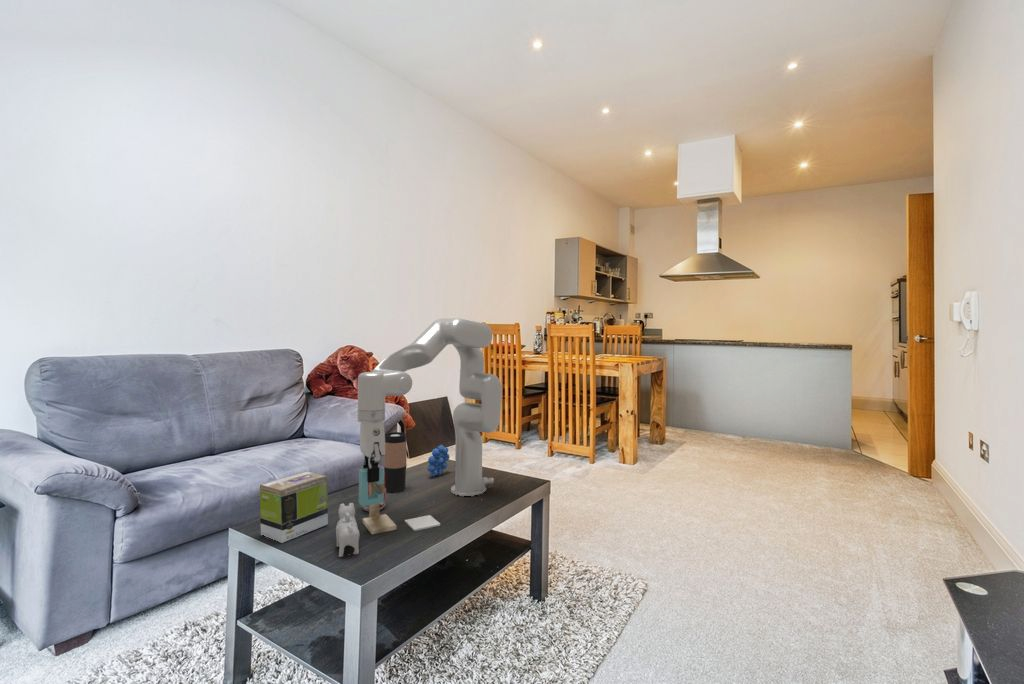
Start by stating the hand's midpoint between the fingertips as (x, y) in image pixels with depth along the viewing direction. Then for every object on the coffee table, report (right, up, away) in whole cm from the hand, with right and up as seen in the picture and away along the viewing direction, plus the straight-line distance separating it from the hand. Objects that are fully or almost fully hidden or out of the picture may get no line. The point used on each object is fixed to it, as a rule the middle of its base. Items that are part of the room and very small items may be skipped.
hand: (371, 479), depth 138 cm
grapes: (+10, -14, +54) cm, 57 cm away
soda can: (-4, -15, +17) cm, 23 cm away
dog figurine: (-3, -15, -11) cm, 19 cm away
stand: (+2, -15, +3) cm, 15 cm away
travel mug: (-2, -14, +36) cm, 39 cm away
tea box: (-21, -15, -1) cm, 26 cm away
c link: (0, -7, 0) cm, 7 cm away
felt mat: (+14, -15, +5) cm, 21 cm away
